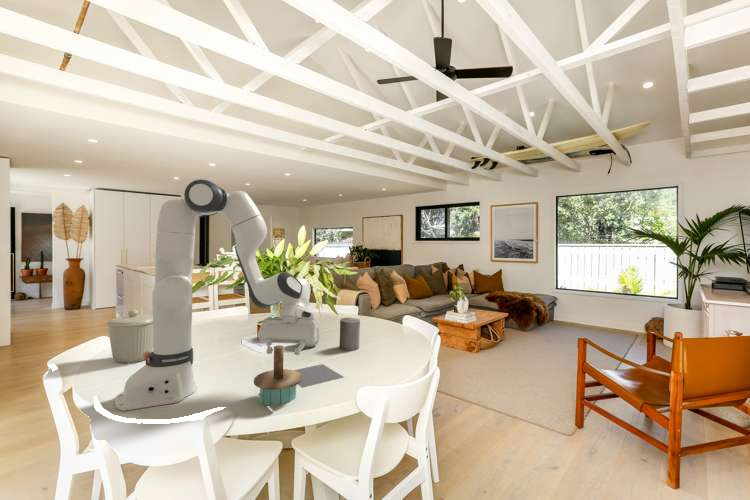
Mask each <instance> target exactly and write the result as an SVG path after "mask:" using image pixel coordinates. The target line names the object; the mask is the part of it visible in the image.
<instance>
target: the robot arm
mask: <svg viewBox="0 0 750 500" xmlns="http://www.w3.org/2000/svg"><path fill="white" fill-rule="evenodd" d="M183 194H184V197H183V198H181V199H178V198H177V199H174V198H173V199H169V200H166V201H164V202H163V203H162V205H161V207H160V210H159V215H158V220H157V224H156V240H155V255H154V257H155V265H154V266H155V269H154V270H155V271H154V273H155V274H154V275H155V277H154V288H153V289H152V294H151V295H152V300H151V301H152V315H153V351H152V352H151V353H149V352H148V351H147V352H145V353H144V355H143V357H144V358H145V365H144V366H142V367H141V368H140V369H138V370H137V371H136V372H134V373H133V374H132V375H131V376H129V377H128V378H127V380H126V382H125V385H124V388H123V391H121V392H120V393H119V394H117V396H116V397H115V400H114V406H115V408H116V409H117V410H119V411H124V412H125V411H130V410H138V409H143V408H150V407H156V406H163V405H169V404H174V403H175V404H177V403H179V402H180V401H182V400H183V399H185V398H186V397H188V396H190V395H192V394H193V393H195V391H196V390H197V387H198V386H197V385H196V381H195V377H194V371H193V364H194V363H193V362H194V348H193V345H192V344H193V343H192V335H193V334H192V332H193V331H192V330H193V329H192V327H193V326H192V325H193V293H194V292H193V287H192V286H193V285H192V284H193V271H194V259H195V242H196V224H197V221H198V220H199V218H204V217H210V216H214V215H216V214H220V215H222V216H223V217H224V218H225V219H226V222H228V225H229V227H230V228H231V231H232V233H233V234H234V235H233V236H234V239H235V247H234V249H235V250H234V251H235V254H236V258H237V262H238V264H239V266H240V269H241V270H242V271H241V272H242V273H243V276H244V279H245V282H246V285H247V287H248V293H249V297H250V300H251V302H252V304H254V305H255V306H257V307H258V308H260V309H267V308H270V307H271V306H273V305H275V304H277V303H280V302H281V303H282V304H283V305H282V307H281V309H282V310H281V314H280V317H274V318H272V316H270V317H269V316H267V318H264V319H263V320H262V322H261V325H260V328H259V331H258V332H257V338H258V340H259V342H260V343H265V344H266V351H265V352H266V354H268V355H271V354H273V352H274V348H273V347H272V346H271V345H273V344H295V345H296V344H297V345H299V346H298V347H295V348H294V352H293V354H294V355H295V356H299V355H300V354H301V352H302V350H303V349H304V348H306V347H305V344H314V343H315V342H316V341H317V328H318V327H317V325H318V322H317V317H316V315H315V313H313V312H312V311H311V312H310V311H307V307H308V306H309V303H310V298H311V284H310V282H309V281H308V280H307V279H305V278H303V277H301V276H299V277H296V276H294V275H293V274H292V273H289V272H288V271H282V272H279V273H276V274H274V275H272V276H270V277H268V278H264V277H263V276H262V273H261V270H260V267H259V265H258V262H257V259H256V254H257V251H258V249H259V248H260V246H261V245H262V244H263V243H264V241H265V239H266V237H267V234H268V226H267V223H266V221H265V219H264V216H263V215H262V213H261V212H260V210H259V208H258V206H257V205H256V203H255V201H254V200H253V199H252V198H251V196H250V195H249V194H248V193H247V192H246V191H244V190H233V191H230V192H227V191H226V190H224V188H221V187H220V186H218V185H217V184H215V183H214V182H213V181H210V180H207V179H195V180H192V181H191V182H190V183H189V184H188V185H187V186H186V187H185V190H184V193H183Z"/></svg>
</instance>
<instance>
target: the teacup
mask: <svg viewBox="0 0 750 500" xmlns="http://www.w3.org/2000/svg"><path fill="white" fill-rule="evenodd" d="M319 342H320V328H319V327H317V341H316V342H315V343H314V344H305V347H304V348H312V347H313V348H314V347H316V346H317V344H318V343H319Z"/></svg>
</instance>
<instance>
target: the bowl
mask: <svg viewBox="0 0 750 500" xmlns="http://www.w3.org/2000/svg"><path fill="white" fill-rule="evenodd" d="M296 398H297V385H295V386H292V387H289V388H285V389H278V390H268V389H262V388H259V402H260V403H261V404H262V405H263V406H268V407H270V406H280V405H284V404H288V403H290V402H292V401H294V400H295V399H296Z"/></svg>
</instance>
